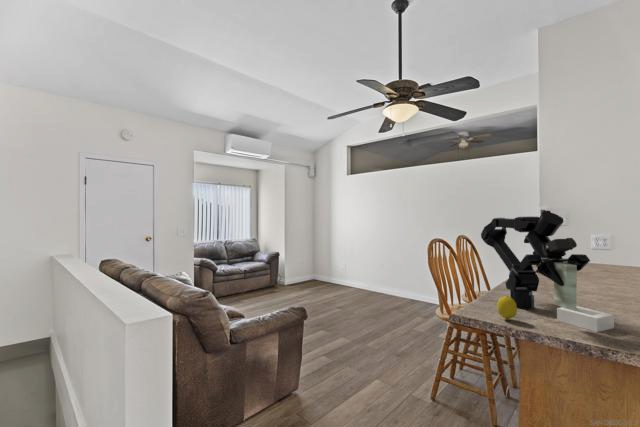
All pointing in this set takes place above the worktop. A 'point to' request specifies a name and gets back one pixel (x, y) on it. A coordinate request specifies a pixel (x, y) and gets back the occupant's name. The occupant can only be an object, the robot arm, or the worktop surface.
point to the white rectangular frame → (586, 318)
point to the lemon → (507, 307)
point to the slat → (566, 286)
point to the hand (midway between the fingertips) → (568, 285)
